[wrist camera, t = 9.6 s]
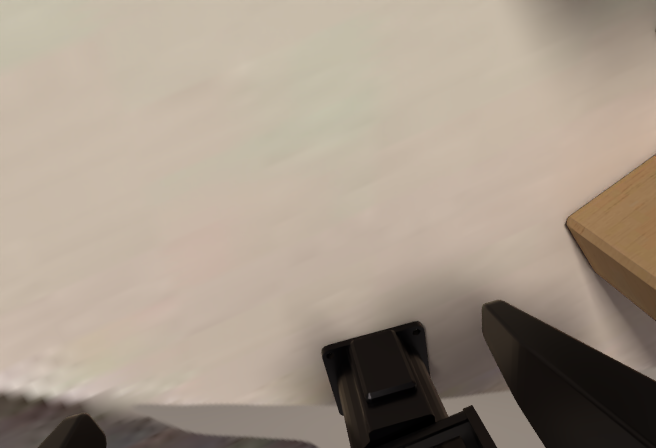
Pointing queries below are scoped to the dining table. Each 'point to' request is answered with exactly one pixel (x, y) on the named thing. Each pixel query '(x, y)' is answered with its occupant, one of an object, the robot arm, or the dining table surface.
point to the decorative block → (623, 235)
